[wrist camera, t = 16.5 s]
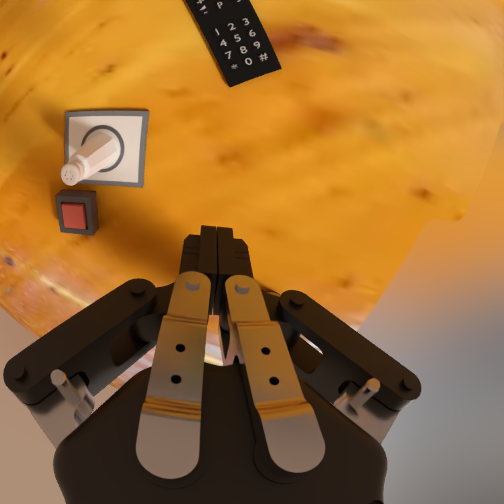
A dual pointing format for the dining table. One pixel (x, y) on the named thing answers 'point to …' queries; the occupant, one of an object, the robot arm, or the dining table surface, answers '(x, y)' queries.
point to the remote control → (235, 38)
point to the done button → (74, 215)
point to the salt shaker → (89, 159)
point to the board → (125, 138)
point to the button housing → (91, 210)
